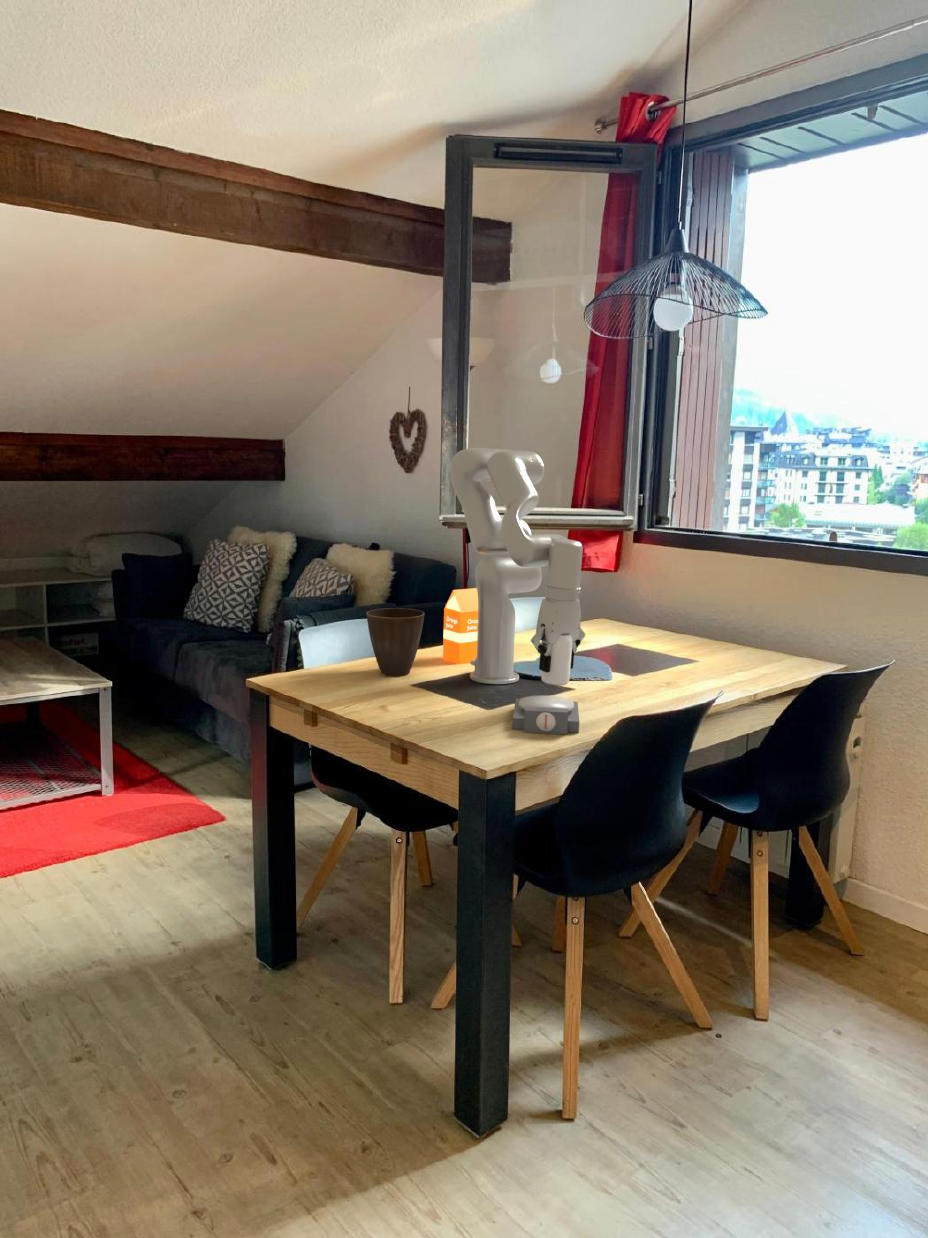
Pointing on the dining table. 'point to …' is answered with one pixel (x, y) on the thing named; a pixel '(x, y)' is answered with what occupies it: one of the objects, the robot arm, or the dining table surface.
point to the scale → (546, 715)
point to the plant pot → (395, 638)
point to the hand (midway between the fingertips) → (556, 668)
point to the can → (559, 662)
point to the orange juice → (461, 626)
